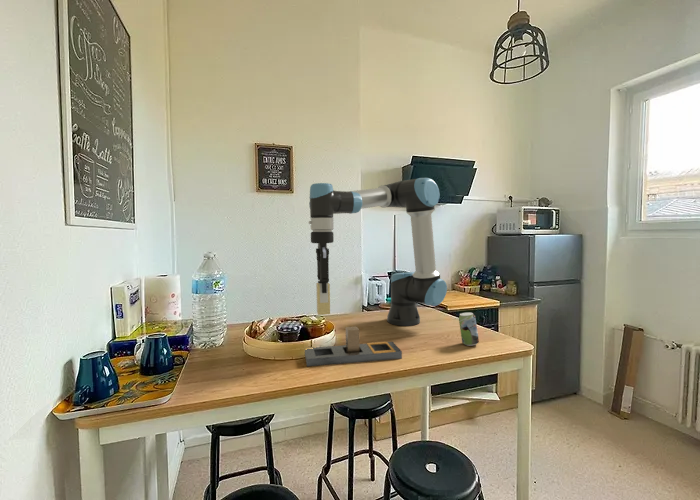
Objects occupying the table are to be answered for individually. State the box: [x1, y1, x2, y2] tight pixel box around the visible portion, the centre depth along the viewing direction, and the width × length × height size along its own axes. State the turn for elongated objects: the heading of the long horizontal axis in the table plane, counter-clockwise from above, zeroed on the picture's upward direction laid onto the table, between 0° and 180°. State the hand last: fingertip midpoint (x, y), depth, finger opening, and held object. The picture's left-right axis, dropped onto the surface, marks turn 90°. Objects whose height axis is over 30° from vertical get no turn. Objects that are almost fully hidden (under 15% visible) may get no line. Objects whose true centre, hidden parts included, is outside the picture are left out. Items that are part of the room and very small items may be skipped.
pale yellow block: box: [316, 282, 331, 316], centre depth 116 cm, size 4×4×10 cm
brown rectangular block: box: [345, 326, 360, 353], centre depth 119 cm, size 4×4×10 cm
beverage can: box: [458, 312, 480, 347], centre depth 131 cm, size 6×7×12 cm
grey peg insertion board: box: [304, 341, 403, 367], centre depth 120 cm, size 10×32×3 cm, turn 101°
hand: (323, 300), depth 117 cm, fingers closed on pale yellow block, 4 cm apart
